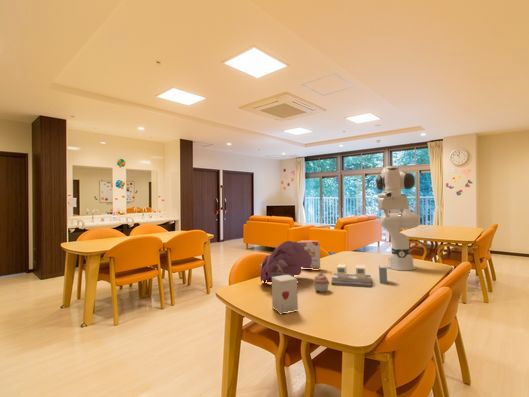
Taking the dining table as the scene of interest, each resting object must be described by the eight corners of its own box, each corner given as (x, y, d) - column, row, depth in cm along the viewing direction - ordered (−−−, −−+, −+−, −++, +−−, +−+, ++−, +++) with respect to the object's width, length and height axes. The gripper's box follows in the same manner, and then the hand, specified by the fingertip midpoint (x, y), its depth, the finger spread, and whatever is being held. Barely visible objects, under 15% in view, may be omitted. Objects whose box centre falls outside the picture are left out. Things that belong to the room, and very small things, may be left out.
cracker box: (299, 269, 208) (298, 241, 208) (301, 268, 213) (300, 240, 214) (319, 271, 202) (317, 241, 203) (320, 269, 208) (319, 240, 208)
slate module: (379, 280, 174) (378, 265, 174) (386, 280, 172) (385, 265, 172) (379, 283, 168) (379, 267, 168) (387, 283, 167) (386, 267, 167)
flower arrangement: (281, 301, 158) (286, 252, 153) (248, 286, 171) (251, 241, 166) (310, 279, 186) (314, 238, 181) (280, 268, 199) (283, 230, 194)
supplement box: (280, 315, 125) (279, 281, 126) (272, 308, 134) (270, 276, 134) (298, 311, 129) (297, 278, 129) (289, 305, 137) (288, 274, 138)
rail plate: (334, 276, 186) (334, 262, 186) (370, 278, 179) (369, 263, 179) (331, 284, 168) (330, 269, 168) (371, 287, 161) (370, 270, 161)
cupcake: (311, 292, 155) (310, 274, 155) (314, 287, 164) (313, 270, 164) (328, 294, 152) (328, 275, 152) (331, 289, 160) (330, 271, 161)
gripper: (402, 194, 179) (403, 216, 178) (375, 194, 173) (376, 217, 172) (410, 193, 173) (411, 216, 172) (383, 194, 167) (384, 217, 166)
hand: (394, 217), depth 172 cm, fingers open, 8 cm apart
